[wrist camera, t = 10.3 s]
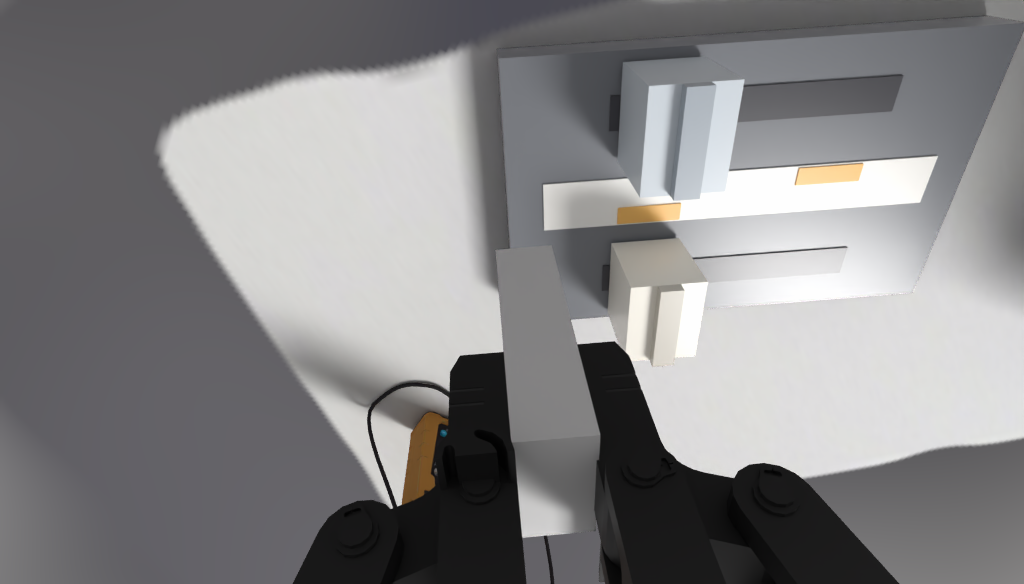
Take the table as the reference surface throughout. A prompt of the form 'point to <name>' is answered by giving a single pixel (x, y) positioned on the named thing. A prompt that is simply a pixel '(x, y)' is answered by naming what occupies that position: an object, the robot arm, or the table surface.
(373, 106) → the table surface
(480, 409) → the robot arm
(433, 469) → the multimeter
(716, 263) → the switch board
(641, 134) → the cube with side tab
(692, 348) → the cream tab
